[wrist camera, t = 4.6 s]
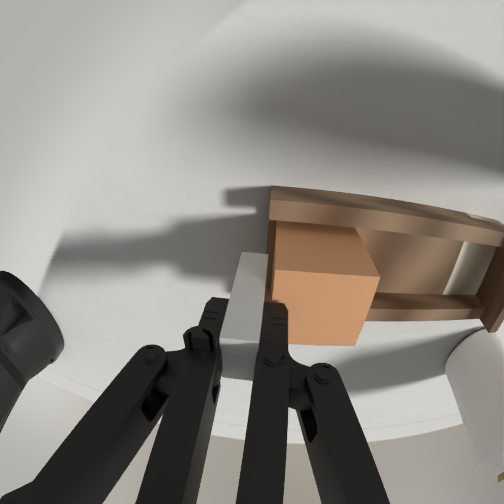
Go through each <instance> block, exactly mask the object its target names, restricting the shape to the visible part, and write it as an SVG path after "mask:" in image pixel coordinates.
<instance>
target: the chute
mask: <svg viewBox="0 0 504 504" xmlns="http://www.w3.org/2000/svg"><path fill="white" fill-rule="evenodd" d="M277 221H289V222H301V223H313V224H323V225H334V226H344V227H354V228H355V229H356V230H357V232H358V234H359V236H360V238H361V240H362V242H363V243H364V245H365V247H366V249H367V251H368V253H369V255H370V257H371V259H372V261H373V263H374V265H375V267H376V269H377V271H378V273H379V275H380V280H379V283H378V286H377V289H376V292H375V295H374V297H373V300H372V303H371V306H370V309H369V311H368V314H367V317H366V319H365V321H440V320H463V319H480V320H481V322H482V323H483V325H484V327H485V328H486V330H487V332H488V333H494V332H496V331H497V330H498V328H499V327H500V325H501V323H502V322H503V320H504V225H503V224H502V223H501V222H499V221H497V220H493V219H489V218H484V217H480V216H476V215H472V214H467V213H463V212H458V211H453V210H448V209H443V208H438V207H433V206H428V205H422V204H417V203H411V202H405V201H399V200H393V199H386V198H379V197H372V196H365V195H358V194H350V193H342V192H333V191H324V190H315V189H304V188H293V187H281V186H271V195H270V207H269V229H268V243H267V254H268V265H267V278H266V290H265V300H264V302H270V300H271V284H272V272H273V261H274V250H275V238H276V226H277Z"/></svg>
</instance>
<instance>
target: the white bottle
mask: <svg viewBox="0 0 504 504" xmlns="http://www.w3.org/2000/svg"><path fill="white" fill-rule="evenodd" d="M445 371H446V375H447V378H448V381H449V383H450V386H451V388H452V391H453V394H454V397H455V400H456V402H457V405H458V408H459V411H460V414H461V417H462V421H463V424H464V427H465V431H466V434H467V438H468V441H469V445H470V449H471V452H472V457H473V461H474V465H475V466H476V467H477V468H478V469H490V468H495V469H496V473H495V476H498V482H500V481H501V480H503V479H504V343H503V341H502V340H501V338H500V336H499V335H498V333H497V332H494V333H488V332H487V330H486V329H484V330H480V331H478V332H475V333H473V334H472V335H470V336H469V337H467V338H466V339H465V340H463V341H462V342H461V343H460V344H459V345H458V346H457V347H456V348H455V349H454V350H453V352H452V353H451V355H450V356H449V358H448V360H447V363H446V366H445Z"/></svg>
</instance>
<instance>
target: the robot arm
mask: <svg viewBox="0 0 504 504" xmlns="http://www.w3.org/2000/svg"><path fill="white" fill-rule="evenodd" d="M267 265H268V254H262V253H250V252H242V253H241V257H240V261H239V265H238V268H237V272H236V276H235V280H234V284H233V287H232V291H231V295H230V299H225V298H216V297H212V298H211V299H210V300H209V301H208V302H207V303H206V305H205V308H204V312H203V314H202V317H201V319H200V322H199V325H198V326H195V327H192V328H190V329H188V330H187V331H186V332H185V333H184V334H183V339H184V344H185V348H184V349H182V350H178V351H168V352H165V350H164V349H163V348H162V347H160V346H158V345H154V344H153V345H146V346H144V347H142V348H140V349H139V350H138V351H137V352H136V354H135V355H134V356H133V357H132V358H131V359H130V361H129V362H128V363H127V364H126V365H125V367H124V368H123V369H122V370H121V371H120V373H119V374H118V375H117V376H116V377H115V379H114V380H113V381H112V382H111V383H110V385H109V386H108V387H107V388H106V389H105V391H104V392H103V393H102V394H101V396H100V397H99V398H98V399H97V400H96V402H95V403H94V404H93V405H92V407H91V408H90V409H89V410H88V411H87V413H86V414H85V415H84V416H83V418H82V419H81V420H80V421H79V423H78V424H77V425H76V426H75V428H74V429H73V430H72V431H71V433H70V434H69V435H68V436H67V438H66V439H65V440H64V441H63V443H62V444H61V445H60V447H59V448H58V449H57V450H56V452H55V453H54V454H53V456H52V457H51V458H50V459H49V461H48V462H47V463H46V465H45V466H44V467H43V469H42V470H41V471H40V472H39V474H38V475H37V476H36V478H35V479H34V480H33V481H32V482H30V483H28V484H26V485H24V486H22V487H20V488H18V489H16V490H14V491H12V492H10V493H7V494H5V495H4V496H2V497H1V499H0V504H102V503H103V502H104V501H105V499H106V498H107V496H108V495H109V493H110V492H111V490H112V489H113V487H114V486H115V484H116V483H117V482H118V480H119V479H120V477H121V476H122V474H123V473H124V471H125V470H126V468H127V467H128V465H129V464H130V463H131V461H132V460H133V458H134V457H135V455H136V454H137V452H138V451H139V449H140V448H141V446H142V445H143V443H144V442H145V440H146V438H147V437H148V436H149V434H150V433H151V431H152V430H153V428H154V427H155V425H156V424H157V422H158V421H159V419H160V418H161V416H162V415H163V416H162V419H161V423H160V426H159V429H158V432H157V435H156V438H155V442H154V444H153V448H152V451H151V454H150V457H149V460H148V464H147V467H146V471H145V474H144V477H143V481H142V484H141V487H140V490H139V494H138V497H137V500H136V503H135V504H196V502H197V497H198V492H199V488H200V483H201V478H202V473H203V468H204V463H205V459H206V454H207V449H208V444H209V440H210V435H211V430H212V425H213V421H214V416H215V411H216V406H217V402H218V397H219V392H220V379H221V374H222V377H225V378H233V379H242V380H251V381H253V385H252V393H251V401H250V408H249V416H248V423H247V430H246V437H245V444H244V445H245V446H244V452H243V458H242V465H241V472H240V479H239V486H238V492H237V499H236V504H283V495H284V481H285V465H286V448H287V429H288V407H290V408H293V409H296V412H297V416H298V419H299V423H300V426H301V430H302V434H303V437H304V441H305V445H306V448H307V452H308V455H309V459H310V463H311V466H312V470H313V474H314V477H315V481H316V485H317V488H318V492H319V496H320V499H321V503H322V504H390V502H389V500H388V497H387V494H386V491H385V488H384V486H383V483H382V480H381V477H380V475H379V472H378V469H377V467H376V464H375V462H374V459H373V456H372V454H371V451H370V448H369V446H368V443H367V441H366V438H365V436H364V433H363V431H362V428H361V426H360V423H359V421H358V418H357V416H356V413H355V411H354V408H353V406H352V403H351V401H350V398H349V396H348V394H347V391H346V389H345V386H344V384H343V382H342V379H341V377H340V374H339V372H338V371H337V369H336V368H335V367H333V366H332V365H330V364H326V363H317V364H314V365H312V366H311V367H309V366H306V365H302V364H300V363H298V362H296V361H295V360H293V359H292V357H291V356H290V354H289V352H288V309H287V307H286V306H285V304H284V303H276V302H264V300H265V290H266V278H267ZM63 349H64V340H63V336H62V334H61V331H60V329H59V327H58V325H57V323H56V322H55V320H54V318H53V317H52V315H51V314H50V312H49V311H48V310H47V308H46V307H45V306H44V304H43V303H42V302H41V300H40V299H39V298H38V297H37V296H36V295H35V294H34V292H33V291H32V290H31V289H30V288H29V287H28V286H27V285H25V284H24V283H23V282H22V281H21V280H20V279H18V278H17V277H16V276H14V275H13V274H11V273H9V272H6V271H0V433H1V430H2V428H3V426H4V424H5V422H6V420H7V418H8V416H9V414H10V412H11V410H12V408H13V407H14V405H15V403H16V401H17V399H18V397H19V396H20V394H21V392H22V390H23V389H24V387H25V385H26V384H27V382H28V381H29V380H30V379H31V378H32V377H34V376H35V375H37V374H38V373H39V372H41V371H42V370H43V369H44V368H46V367H47V366H48V365H49V364H52V363H53V362H55V361H56V360H57V358H58V357H59V355H60V354H61V352H62V351H63Z"/></svg>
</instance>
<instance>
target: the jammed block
mask: <svg viewBox="0 0 504 504" xmlns="http://www.w3.org/2000/svg"><path fill="white" fill-rule="evenodd" d="M379 280H380V275H379V273H378V271H377V269H376V267H375V265H374V263H373V261H372V259H371V257H370V255H369V253H368V251H367V249H366V247H365V245H364V243H363V242H362V240H361V238H360V236H359V234H358V232H357V230H356V229H355V228H354V227H344V226H334V225H323V224H313V223H301V222H289V221H277V226H276V238H275V250H274V261H273V272H272V284H271V300H270V302H276V303H284V304H285V306H286V307H287V309H288V344H301V345H326V346H355V344H356V342H357V339H358V337H359V334H360V332H361V329H362V327H363V324H364V322H365V319H366V317H367V314H368V311H369V309H370V306H371V303H372V300H373V297H374V295H375V292H376V289H377V286H378V283H379Z"/></svg>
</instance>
